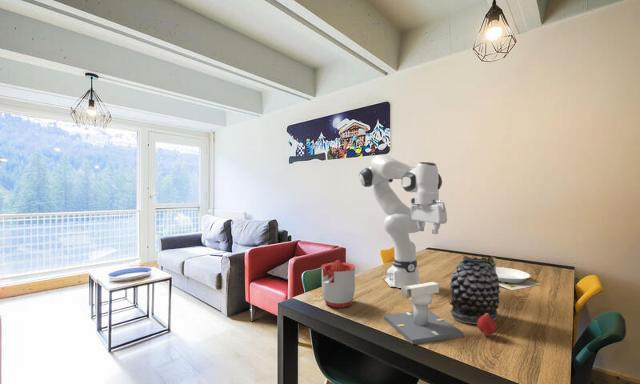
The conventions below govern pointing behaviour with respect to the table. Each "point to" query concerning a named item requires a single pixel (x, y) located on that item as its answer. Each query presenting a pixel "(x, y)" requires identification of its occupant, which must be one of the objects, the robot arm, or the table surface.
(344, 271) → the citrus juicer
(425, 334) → the lock base
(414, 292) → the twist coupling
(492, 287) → the pineapple fairy house
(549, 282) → the table surface
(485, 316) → the onion
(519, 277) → the white plate
